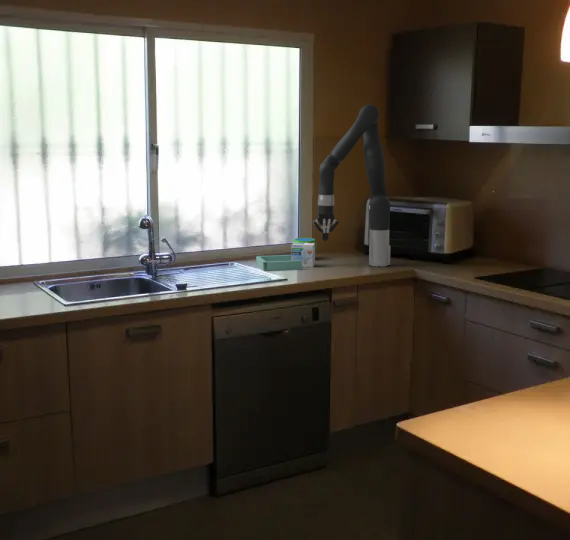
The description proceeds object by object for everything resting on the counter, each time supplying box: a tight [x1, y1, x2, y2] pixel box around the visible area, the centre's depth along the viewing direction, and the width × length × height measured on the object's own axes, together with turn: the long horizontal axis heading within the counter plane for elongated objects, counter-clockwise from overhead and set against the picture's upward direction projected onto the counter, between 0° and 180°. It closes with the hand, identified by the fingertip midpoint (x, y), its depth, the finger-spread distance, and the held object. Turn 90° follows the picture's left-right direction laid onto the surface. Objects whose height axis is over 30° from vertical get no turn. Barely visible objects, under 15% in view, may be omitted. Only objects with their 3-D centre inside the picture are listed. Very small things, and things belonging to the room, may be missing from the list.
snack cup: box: [293, 237, 318, 252], centre depth 377 cm, size 16×10×10 cm
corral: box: [255, 254, 303, 272], centre depth 356 cm, size 18×18×4 cm
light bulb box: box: [290, 242, 316, 268], centre depth 358 cm, size 11×7×11 cm, turn 81°
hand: (325, 240), depth 360 cm, fingers closed
